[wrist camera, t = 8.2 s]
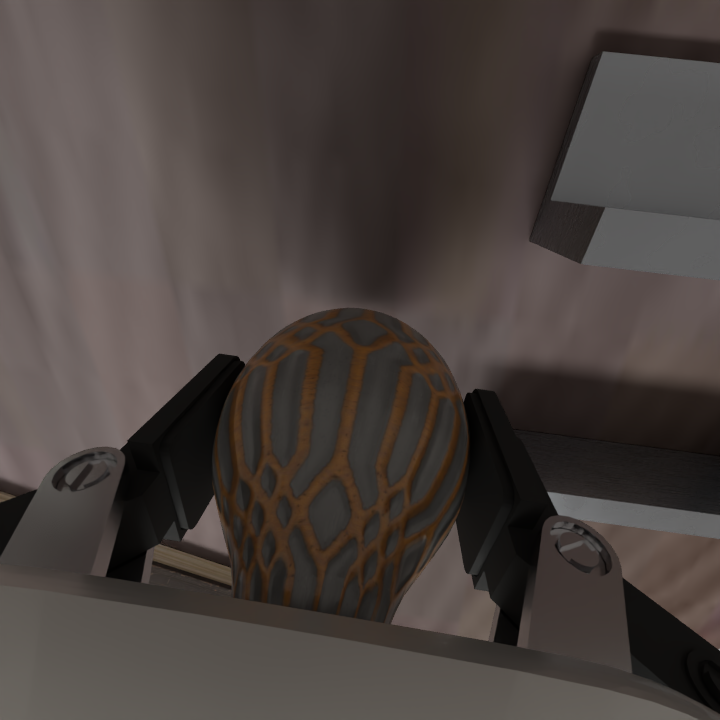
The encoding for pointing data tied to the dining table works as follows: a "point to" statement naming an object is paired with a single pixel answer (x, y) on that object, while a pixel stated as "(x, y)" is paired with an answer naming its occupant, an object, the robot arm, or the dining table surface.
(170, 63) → the dining table surface
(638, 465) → the bracket
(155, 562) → the hardcover book
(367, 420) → the vase
